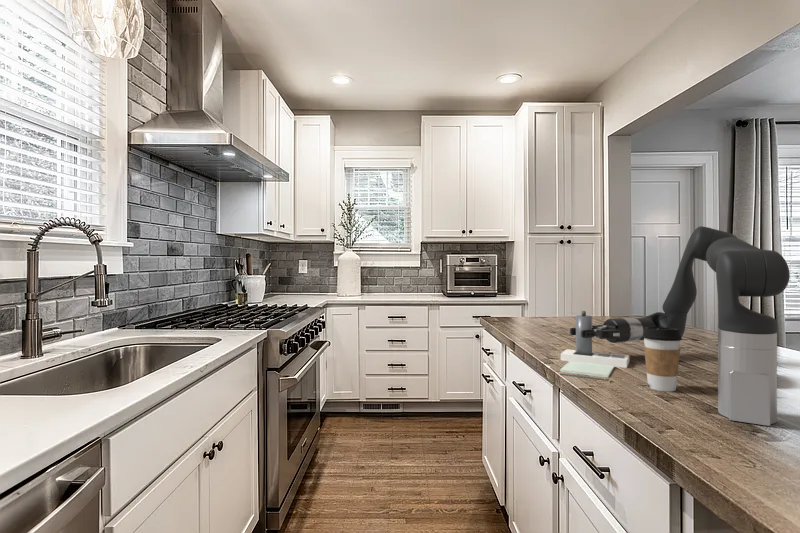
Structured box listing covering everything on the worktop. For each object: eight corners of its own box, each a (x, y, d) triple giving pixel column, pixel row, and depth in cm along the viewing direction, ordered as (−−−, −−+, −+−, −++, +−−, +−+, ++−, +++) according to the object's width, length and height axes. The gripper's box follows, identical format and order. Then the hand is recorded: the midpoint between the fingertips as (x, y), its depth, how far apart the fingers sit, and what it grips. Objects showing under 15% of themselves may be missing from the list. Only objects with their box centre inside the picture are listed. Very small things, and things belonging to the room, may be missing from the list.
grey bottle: (590, 360, 130) (590, 312, 130) (574, 359, 133) (574, 311, 133) (593, 357, 134) (593, 310, 134) (577, 356, 137) (577, 310, 137)
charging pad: (608, 381, 114) (608, 375, 114) (560, 375, 120) (560, 369, 120) (614, 371, 124) (614, 366, 124) (569, 366, 130) (569, 361, 130)
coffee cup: (648, 392, 104) (648, 329, 104) (637, 382, 112) (637, 324, 112) (688, 394, 102) (688, 330, 102) (674, 384, 110) (674, 325, 110)
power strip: (651, 373, 120) (650, 362, 120) (560, 363, 133) (560, 353, 133) (652, 367, 127) (652, 356, 127) (566, 358, 140) (566, 348, 140)
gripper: (606, 315, 144) (561, 317, 140) (640, 321, 130) (592, 323, 126) (606, 338, 144) (561, 341, 140) (640, 346, 130) (592, 349, 126)
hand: (576, 332), depth 133 cm, fingers closed on grey bottle, 4 cm apart
